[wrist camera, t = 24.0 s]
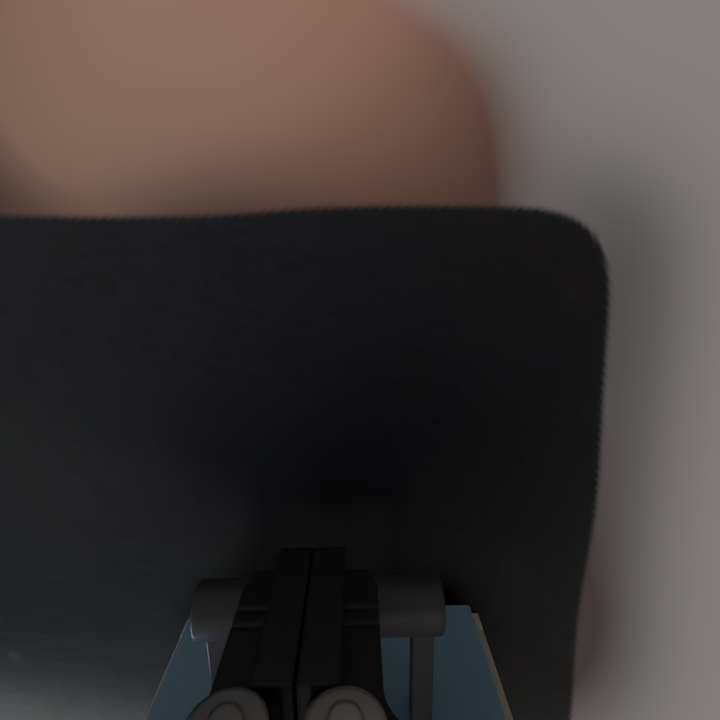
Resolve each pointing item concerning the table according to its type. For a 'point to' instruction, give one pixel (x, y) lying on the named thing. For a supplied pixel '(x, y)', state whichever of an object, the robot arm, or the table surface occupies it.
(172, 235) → the table surface
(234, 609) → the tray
